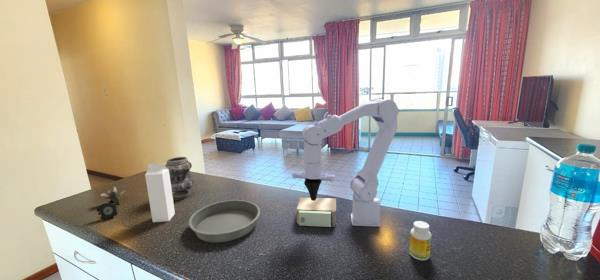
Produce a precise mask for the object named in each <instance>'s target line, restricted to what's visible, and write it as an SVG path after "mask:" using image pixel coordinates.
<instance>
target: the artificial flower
mask: <svg viewBox="0 0 600 280" xmlns="http://www.w3.org/2000/svg"><path fill="white" fill-rule="evenodd" d="M112 188H113V190H112V191H111V190H108V191H107V192H108V193H107V194H108V195H107V194H106V193H101V194H100V196H101V197H102V198H104V199H108V200H109V201H110V202H109V201H107V202H105V203H102V204H101V205H99V206H98V207H97V209H96V212H97V214H98V215H99V219H101V220H103V221H105V220H104V219H106V218H110V219H113V218H114V217H116V216H117V215H118V212H117V210H118V209H117V207H119V206H118V204H120V205H121V199H120V196H122V195H123V194H124V193H125V192H126V190H122V191H121V192H120V193H118V190H117V188H116V186H114V185H112ZM117 193H118V194H117ZM111 200H112V201H111ZM111 202H113V203H111ZM114 203H115V204H116V205H115V204H114ZM111 217H112V218H111ZM106 220H107V219H106Z"/></svg>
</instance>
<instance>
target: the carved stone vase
mask: <svg viewBox="0 0 600 280" xmlns="http://www.w3.org/2000/svg"><path fill="white" fill-rule="evenodd" d="M165 167H166V168H167V169H169V175H170V182H171V189H172V196H173V201H174V200H176V201H177V200H183V199H187V198H190V197H191V196H192V195H193V194H194V191H193V190H191V188H192V187H193V186H194V185H195V179H193V178H192V177H191V172H190V171H191V168H192V163H191V162H190V161H188V157H186V156H177V157H171V158H169V159H167V160H166V164H165Z"/></svg>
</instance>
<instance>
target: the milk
mask: <svg viewBox="0 0 600 280" xmlns="http://www.w3.org/2000/svg"><path fill="white" fill-rule="evenodd" d="M165 165H166V164H165V163H164V162H163V163H148V164H147V169H146V173H145V174H144V177H145V182H146V189H147V195H148V201H149V208H150V214H151V219H152V223H161V222H170V221H171V219H172V218H173V217H174V215H175V214H176V212H175V205H174V204H175V203H174V199H173V196H172V194H173V192H172V189H171V182H170V175H169V169H167V168H166V167H165Z"/></svg>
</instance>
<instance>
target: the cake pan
mask: <svg viewBox="0 0 600 280" xmlns="http://www.w3.org/2000/svg"><path fill="white" fill-rule="evenodd" d="M260 214H261V209H260V207H259V206H258V205H257V204H256V203H254V202H251V201H248V200H244V199H230V200H223V201H217V202H214V203H211V204H208V205H206V206H203V207H202V208H200V209H198V210H197V211H195V212H194V213H193V214H192V215H191V216H190V218H189V220H188V227H189V228H190V229H191V230H192V231H193V232H194V234H195V235H196V237H197V238H198V239H199V240H201V241H203V242H207V243H224V242H230V241H233V240H236V239H239V238H243V236H245V235H247V234H249V233H250V232H251V231H252V230H253V229H254V228H255V227H256V224H257V221H258V218H259V217H260Z"/></svg>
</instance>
